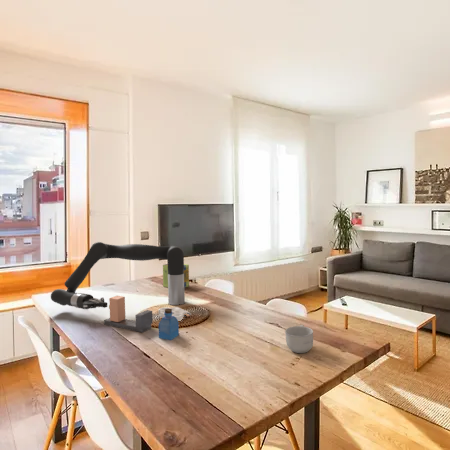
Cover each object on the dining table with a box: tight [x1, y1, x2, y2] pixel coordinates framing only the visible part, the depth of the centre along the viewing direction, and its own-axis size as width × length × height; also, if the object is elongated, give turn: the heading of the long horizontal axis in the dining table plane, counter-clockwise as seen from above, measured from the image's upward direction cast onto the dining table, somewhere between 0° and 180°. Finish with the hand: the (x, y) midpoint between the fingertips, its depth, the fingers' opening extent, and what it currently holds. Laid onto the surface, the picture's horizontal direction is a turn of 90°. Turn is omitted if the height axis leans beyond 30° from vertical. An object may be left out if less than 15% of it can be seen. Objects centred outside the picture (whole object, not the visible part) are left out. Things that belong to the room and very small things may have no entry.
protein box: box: [162, 263, 190, 289], centre depth 240 cm, size 10×15×16 cm
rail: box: [103, 309, 153, 333], centre depth 164 cm, size 24×8×8 cm, turn 62°
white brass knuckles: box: [157, 306, 192, 322], centre depth 177 cm, size 3×18×15 cm
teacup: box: [284, 324, 314, 354], centre depth 137 cm, size 14×11×8 cm
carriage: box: [108, 295, 126, 322], centre depth 167 cm, size 6×5×11 cm
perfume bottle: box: [158, 309, 180, 341], centre depth 151 cm, size 6×6×12 cm
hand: (106, 305), depth 170 cm, fingers closed
